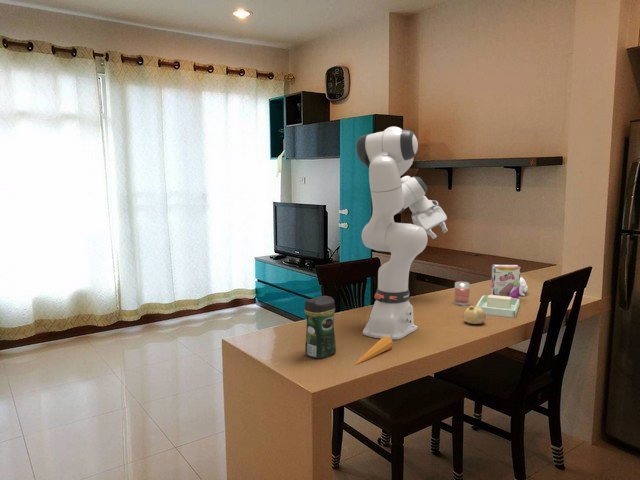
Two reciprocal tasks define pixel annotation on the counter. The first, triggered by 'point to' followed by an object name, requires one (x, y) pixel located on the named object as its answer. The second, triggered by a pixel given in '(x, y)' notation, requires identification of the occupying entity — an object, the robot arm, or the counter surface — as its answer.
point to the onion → (474, 315)
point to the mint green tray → (499, 311)
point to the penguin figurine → (522, 287)
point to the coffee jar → (320, 327)
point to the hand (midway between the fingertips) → (440, 234)
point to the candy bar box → (505, 280)
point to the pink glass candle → (461, 293)
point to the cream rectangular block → (499, 301)
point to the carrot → (377, 349)
